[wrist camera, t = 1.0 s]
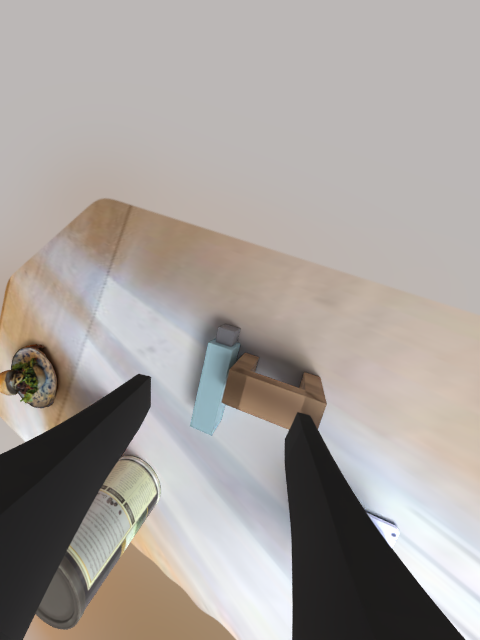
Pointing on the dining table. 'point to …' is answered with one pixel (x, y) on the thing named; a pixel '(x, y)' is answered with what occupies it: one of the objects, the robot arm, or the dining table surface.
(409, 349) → the dining table surface
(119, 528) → the coffee can
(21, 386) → the plated food dish
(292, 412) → the brown block
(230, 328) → the light blue pillar
